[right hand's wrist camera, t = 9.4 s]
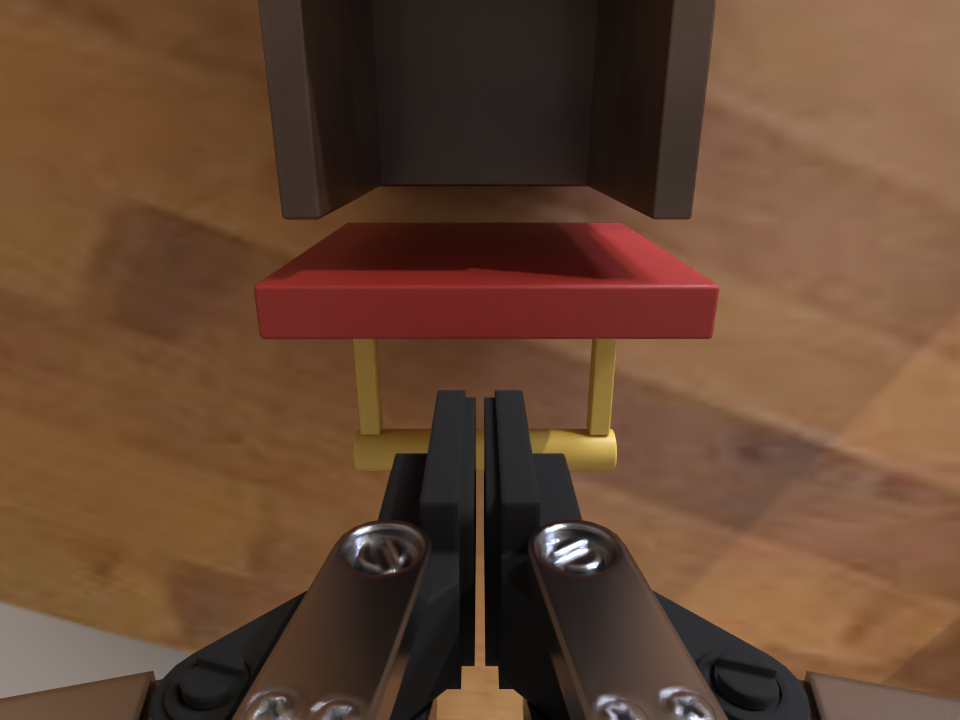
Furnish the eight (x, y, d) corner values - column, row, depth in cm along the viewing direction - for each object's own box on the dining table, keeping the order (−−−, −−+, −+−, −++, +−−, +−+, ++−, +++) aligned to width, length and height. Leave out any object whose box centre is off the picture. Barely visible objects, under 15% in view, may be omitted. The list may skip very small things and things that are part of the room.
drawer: (608, 398, 24) (684, 555, 15) (359, 398, 24) (287, 554, 15) (675, -449, 16) (928, -1202, 7) (294, -447, 16) (53, -1198, 7)
